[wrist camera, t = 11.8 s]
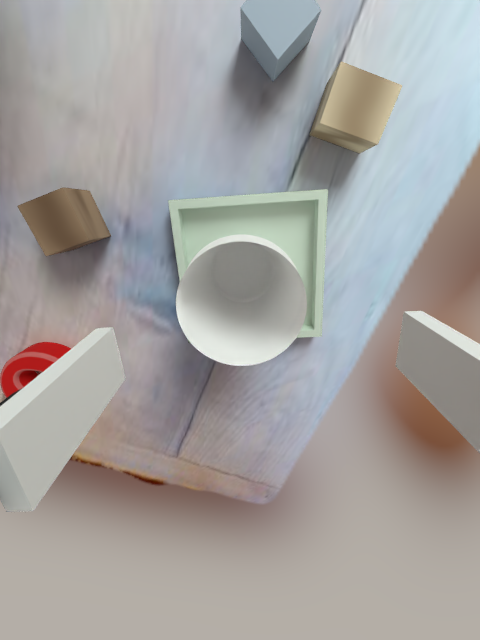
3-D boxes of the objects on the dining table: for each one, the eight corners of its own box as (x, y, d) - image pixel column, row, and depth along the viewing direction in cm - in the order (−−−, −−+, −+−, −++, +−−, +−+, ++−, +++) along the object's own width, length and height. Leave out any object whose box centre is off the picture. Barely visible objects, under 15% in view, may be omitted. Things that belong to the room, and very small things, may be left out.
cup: (288, 306, 31) (313, 359, 20) (208, 317, 32) (189, 375, 21) (280, 220, 28) (304, 227, 17) (191, 234, 29) (157, 250, 18)
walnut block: (73, 249, 30) (45, 256, 26) (50, 206, 29) (17, 205, 24) (111, 235, 30) (89, 240, 25) (90, 190, 28) (62, 187, 24)
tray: (191, 335, 33) (188, 343, 32) (173, 201, 28) (168, 200, 26) (317, 329, 33) (321, 336, 31) (322, 190, 28) (327, 189, 26)
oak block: (309, 135, 26) (319, 122, 22) (326, 83, 25) (341, 61, 21) (359, 153, 27) (377, 144, 23) (379, 103, 25) (402, 85, 21)
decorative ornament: (110, 374, 36) (98, 389, 33) (71, 419, 38) (56, 436, 36) (42, 325, 34) (22, 337, 31) (4, 377, 36) (-17, 392, 33)
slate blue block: (272, 82, 25) (277, 59, 21) (241, 39, 24) (240, 7, 20) (309, 41, 24) (321, 9, 20) (277, -6, 23) (284, -48, 19)
